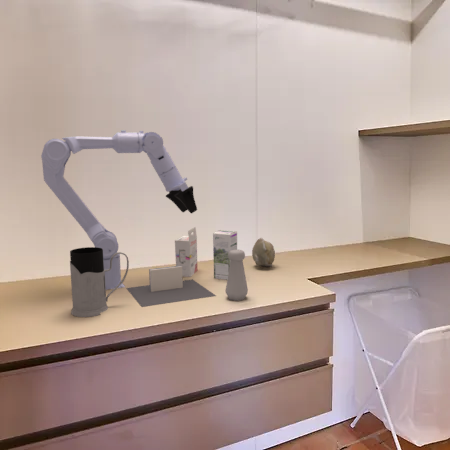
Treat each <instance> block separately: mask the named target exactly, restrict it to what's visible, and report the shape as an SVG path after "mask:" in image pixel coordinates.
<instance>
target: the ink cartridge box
mask: <svg viewBox="0 0 450 450" xmlns="http://www.w3.org/2000/svg"><path fill="white" fill-rule="evenodd" d="M174 253H175V266H182V278H183V277H189V278H190V277H192V276H193V275H194V274H195V273H196V272H197V271H198V236H197V228H196V226H195V227H193V228H191V229H189V230H187V235H182V236H181V237H179V238H177V239H175V240H174Z"/></svg>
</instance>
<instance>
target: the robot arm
mask: <svg viewBox="0 0 450 450" xmlns="http://www.w3.org/2000/svg"><path fill="white" fill-rule="evenodd" d="M163 139H164V138H163V137H162V136H161V135H160V134H158V133H157V132H154V131H149V132H145V133H144V130H139V131H138V132H137V131H136V132H133V131H132V132H131V131H129V132H127V130H126V129H125V130H124V129H121V130H120V132H119V131H117V132H116V133H115V134H114V135H113V136H85V135H84V136H81V135H78V136H77V135H76V136H68V137H67V136H66V137H61V138H52V139H49V140H47V141H46V142H45V144H44V145H43V148H42V152H41V155H40V159H41V163H42V175H43V181H44V182H45V183H46V186H48V187H49V189H50V190H51V192H53V194H54V196H55V197H56V198H57V199H58V200H59V202H60V203H61V204H62V205H63V207H65V208H66V210H67V211H68V212H69V214H70V215H72V217H73V218H74V220H75V221H76V222H77V223H78V224H79V226H80V227H81V228H82V230H84V232H85V234H86V235H87V236H88V238H89V240H90V241H91V242H92V243H93V247H97V248H102V249H103V262H104V270H107V269H109V268H110V260H111V257H112V256H113V255H114V254H115V253H117V252H119V251H118V250H119V243H118V239H117V236H116V235H115V234H114V232H112V231H110V230H108V229H106V228H105V226H104V225H103V224H102V223H101V222H100V221H99V220H98V218H97V217H96V216H95V215H94V214H93V212H92V211H91V210H90V209H89V206H87V204H86V203H85V202H84V201H83V199H82V198H81V197H80V196H79V194H78V193H77V192H76V191H75V190H74V188H73V187H72V185H71V184H69V182H68V181H67V180H66V178H65V176H64V175H65V170H66V165H67V163H68V161H69V158H70V157H71V154H73V155H75V154H77V153H79V152H81V151H83V150H100V149H101V150H102V149H107V150H108V149H112V150H114V151H115V152H116V153H117V154H141V153H142V152H143V153H145V154H146V155H147V157H148V159H149V160H150V163H151V165H152V167H153V169H154V171H155V173H156V174H157V176H158V178H159V179H160V181H161V183H162V184H163V186H164V188H165V191H166V192H167V193H168V194H166V195H165V198H166V199H169V200H170V201H171V202H172V203H173V204H174V205H175V206H176V207H177V208H178V209H179V210H180V211H181V213H185V212H187V211H188V212H189V213H190V214H194V213H195V212H196V211H197V210H198V207H197V204H196V201H195V195H194V186H193V185H190V186H188V184H187V182H186V181H187V180H188V177H184V178H183V177H182V175H181V173H180V171H179V170H178V168H177V165H176V164H175V162H174V161H173V158H172V157H171V155H170V153H169V152H168V151H167V148H166V147H165V146H164V140H163ZM121 270H122V269H121V254H117V255H115V256H114V258H113V260H112V268H111V270H109V271H105V286H106V291H107V290H113V289H114V288H115V287H116V286H117V285H118V284H119V283H120V282H121V281H122V275H121V273H122V272H121ZM122 288H126V286H125V285H124V282H123V283H122V284H121V285H120V286H119V287H118V288H117V289H122Z"/></svg>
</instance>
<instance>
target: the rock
mask: <svg viewBox="0 0 450 450" xmlns="http://www.w3.org/2000/svg"><path fill="white" fill-rule="evenodd" d="M275 253H276V251H275V248H274V245H273V244H272V243H271V242H269V241H268V240H265V239H263V237H260V238H258V239H256V241H255V243H254V245H253V247H252V251H251V254H252V259H253V261H254V264H255V265H256V266H258V267H266V268H270V267H271V268H272V267H273V266H274V265H273V263H274V261H275V257H276V254H275Z"/></svg>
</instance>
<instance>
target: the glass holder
mask: <svg viewBox="0 0 450 450" xmlns="http://www.w3.org/2000/svg"><path fill="white" fill-rule="evenodd" d="M117 254H120V255H122V256H125V258H126V269H125V273H124V275H123V278H121V282H120V283H119V284H118V285H117V286H116V287H115V288H114V289H111V291H110V292H108V294H107V290H106V286H105V271H109V270H111V268H112V260H113V258H114V256H115V255H117ZM69 257H70V260H69V267H70V280H71V281H70V282H71V283H70V284H71V300H72V309H71V311H70V313H71V315H72V316H74V317H78V318H90V317H91V318H93V317H97V316H100V315H101V314H102V313H104V312H106V311H108V309H109V306H108V304H107V303H108V299H109V297H110V296H111V295H112V294H113V293H114V292H115V291H116V290H117V289H119V288H118V287H119V286H120V285H121V284H122V283H123V284H124V281H125V280H126V278H127V275H128V272H129V266H130V265H129V262H130V261H129V257H128V256H127V254H125V252H121V251H120V252H119V251H117V253H115V254H114V255H113V256H112V257H111V260H110V268H109V269H107V270H104V262H103V249H102V248H97V247H95V246H93V247H92V246H90V247H89V246H88V247H87V246H86V247H79V248H73V249H72V250H69Z"/></svg>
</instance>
